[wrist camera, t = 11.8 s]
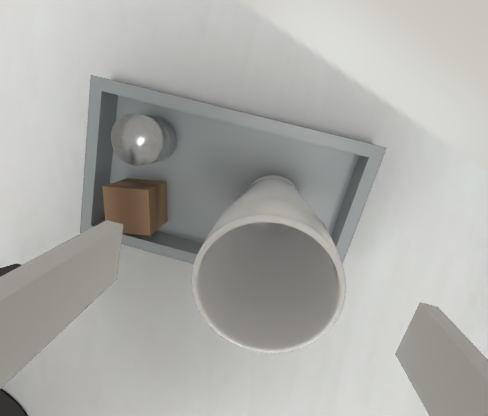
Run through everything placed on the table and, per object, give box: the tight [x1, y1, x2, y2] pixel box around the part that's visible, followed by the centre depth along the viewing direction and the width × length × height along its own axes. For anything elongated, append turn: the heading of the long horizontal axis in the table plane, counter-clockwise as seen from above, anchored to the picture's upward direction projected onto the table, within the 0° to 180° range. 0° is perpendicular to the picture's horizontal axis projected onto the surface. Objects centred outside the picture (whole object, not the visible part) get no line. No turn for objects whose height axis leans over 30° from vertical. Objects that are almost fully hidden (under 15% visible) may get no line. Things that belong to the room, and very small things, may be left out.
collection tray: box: [80, 75, 386, 264], centre depth 26 cm, size 24×14×3 cm, turn 77°
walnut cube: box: [102, 178, 168, 236], centre depth 26 cm, size 4×4×4 cm
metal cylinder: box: [111, 114, 177, 166], centre depth 24 cm, size 4×4×4 cm
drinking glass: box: [191, 175, 346, 353], centre depth 19 cm, size 7×7×15 cm
